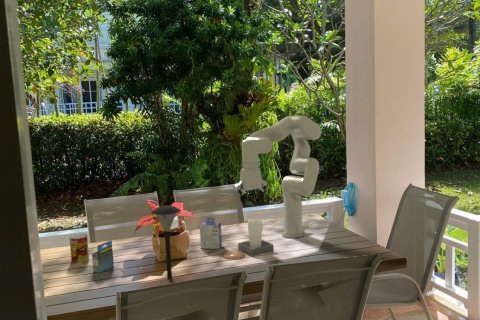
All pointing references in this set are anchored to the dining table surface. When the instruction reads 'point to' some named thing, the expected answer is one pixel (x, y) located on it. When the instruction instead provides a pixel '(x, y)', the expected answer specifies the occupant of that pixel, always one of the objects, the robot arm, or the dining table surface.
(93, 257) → the label tape cartridge
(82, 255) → the canned food
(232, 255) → the coaster
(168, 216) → the solar garden light
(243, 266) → the dining table surface
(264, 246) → the bin
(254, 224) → the drinking glass
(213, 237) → the ink cartridge box
